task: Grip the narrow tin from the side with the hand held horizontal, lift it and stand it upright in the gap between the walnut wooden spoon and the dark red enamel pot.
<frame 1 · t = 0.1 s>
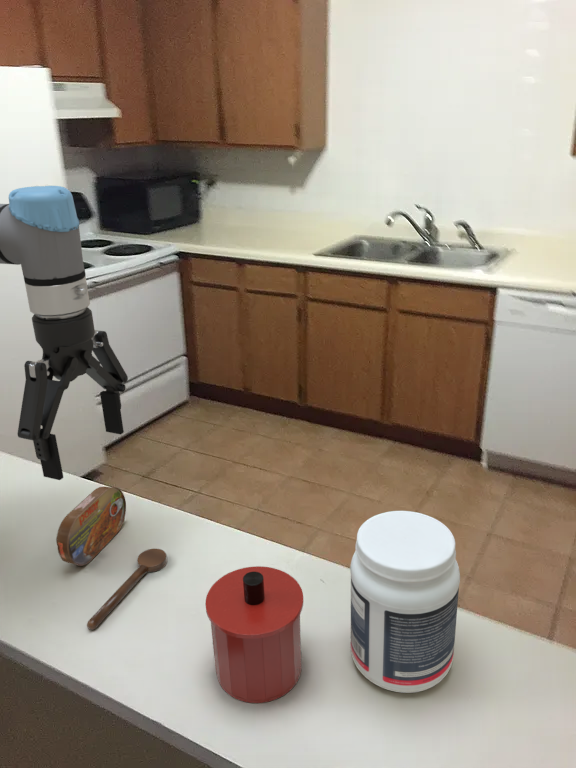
hand: (86, 453, 95), 19 cm above the countertop, tool pointing down, fingers open, 13 cm apart
spoon: (131, 585, 98), on the countertop
pot lid: (254, 602, 79), point 10 cm above the countertop, touching pot
supplement tub: (400, 658, 85), on the countertop
tin: (96, 546, 107), on the countertop
pot: (259, 667, 84), on the countertop
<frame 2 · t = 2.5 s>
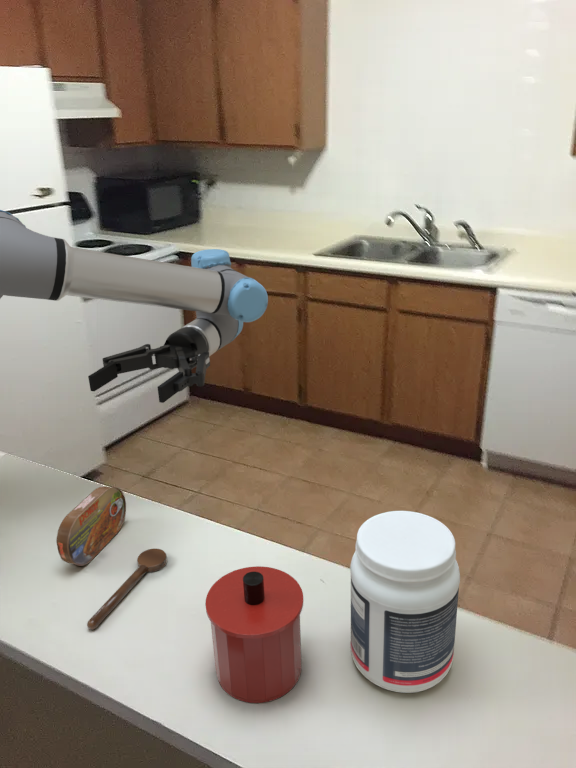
hand: (124, 389, 109), 22 cm above the countertop, tool horizontal, fingers open, 13 cm apart
nothing on the countertop moved.
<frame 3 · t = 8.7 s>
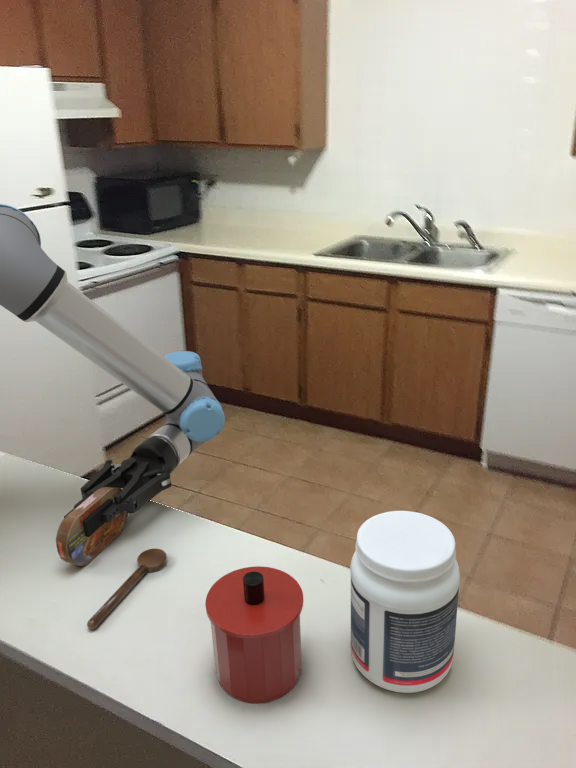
hand: (76, 526, 102), 6 cm above the countertop, tool horizontal, fingers closed on tin, 3 cm apart
tin: (97, 546, 107), on the countertop, touching gripper
everything else where it was.
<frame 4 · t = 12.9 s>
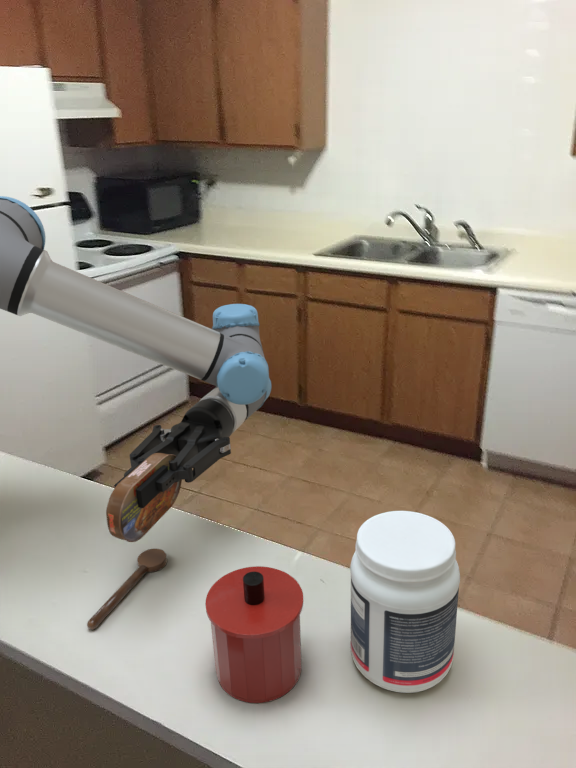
hand: (128, 496, 87), 18 cm above the countertop, tool horizontal, fingers closed on tin, 3 cm apart
tin: (147, 520, 93), point 12 cm above the countertop, touching gripper
everything else where it was.
when the fingers open (6 cm above the countertop, at t = 17.0 s): tin stays where it is, on the countertop.
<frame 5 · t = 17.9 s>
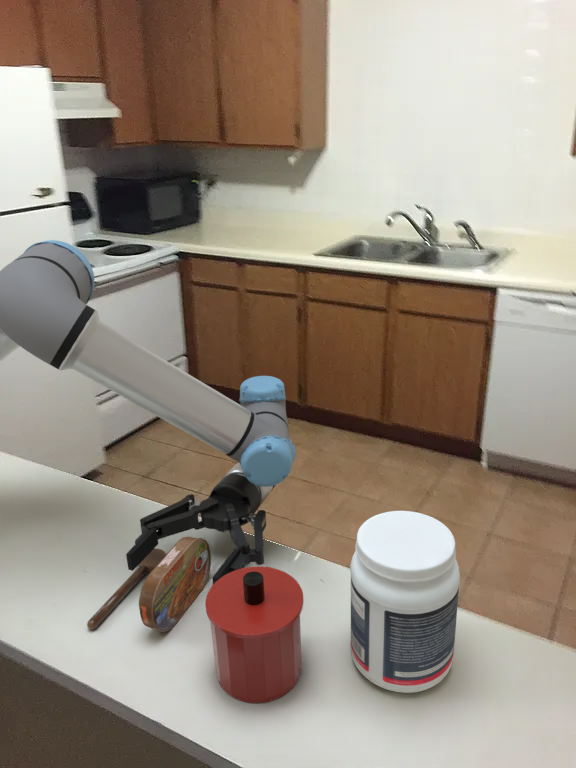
hand: (171, 574, 90), 7 cm above the countertop, tool horizontal, fingers open, 13 cm apart
tin: (179, 605, 94), on the countertop
everything else where it was.
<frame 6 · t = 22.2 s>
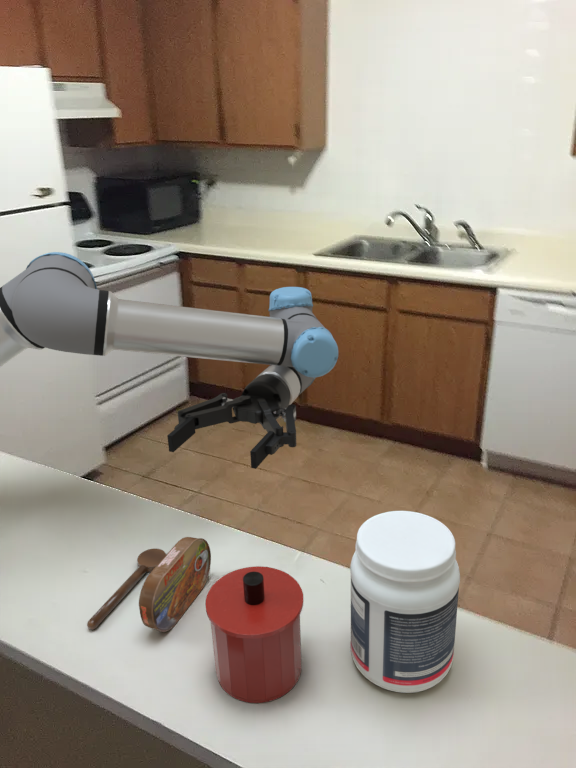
hand: (210, 451, 96), 19 cm above the countertop, tool horizontal, fingers open, 13 cm apart
nothing on the countertop moved.
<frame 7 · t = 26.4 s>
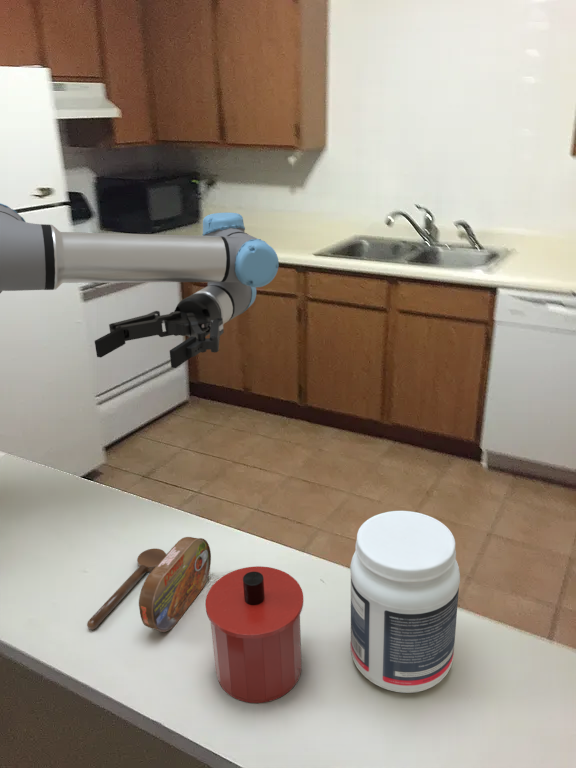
hand: (134, 354, 101), 30 cm above the countertop, tool horizontal, fingers open, 13 cm apart
nothing on the countertop moved.
at the end: tin inside the target area on the countertop beside the pot (1.0 cm from its centre), on the countertop; tin tilted 0°; the gripper is holding nothing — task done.
